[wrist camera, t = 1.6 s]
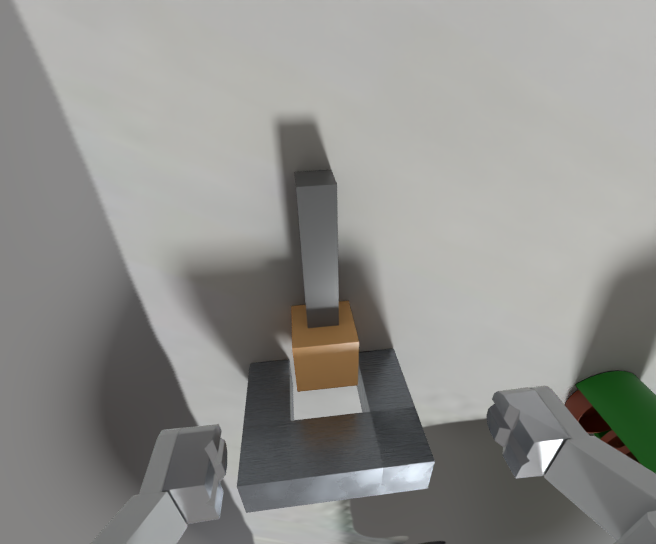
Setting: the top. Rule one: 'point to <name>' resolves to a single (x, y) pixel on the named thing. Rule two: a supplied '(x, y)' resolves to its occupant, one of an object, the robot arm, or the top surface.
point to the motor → (618, 414)
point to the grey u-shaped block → (330, 440)
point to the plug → (321, 292)
